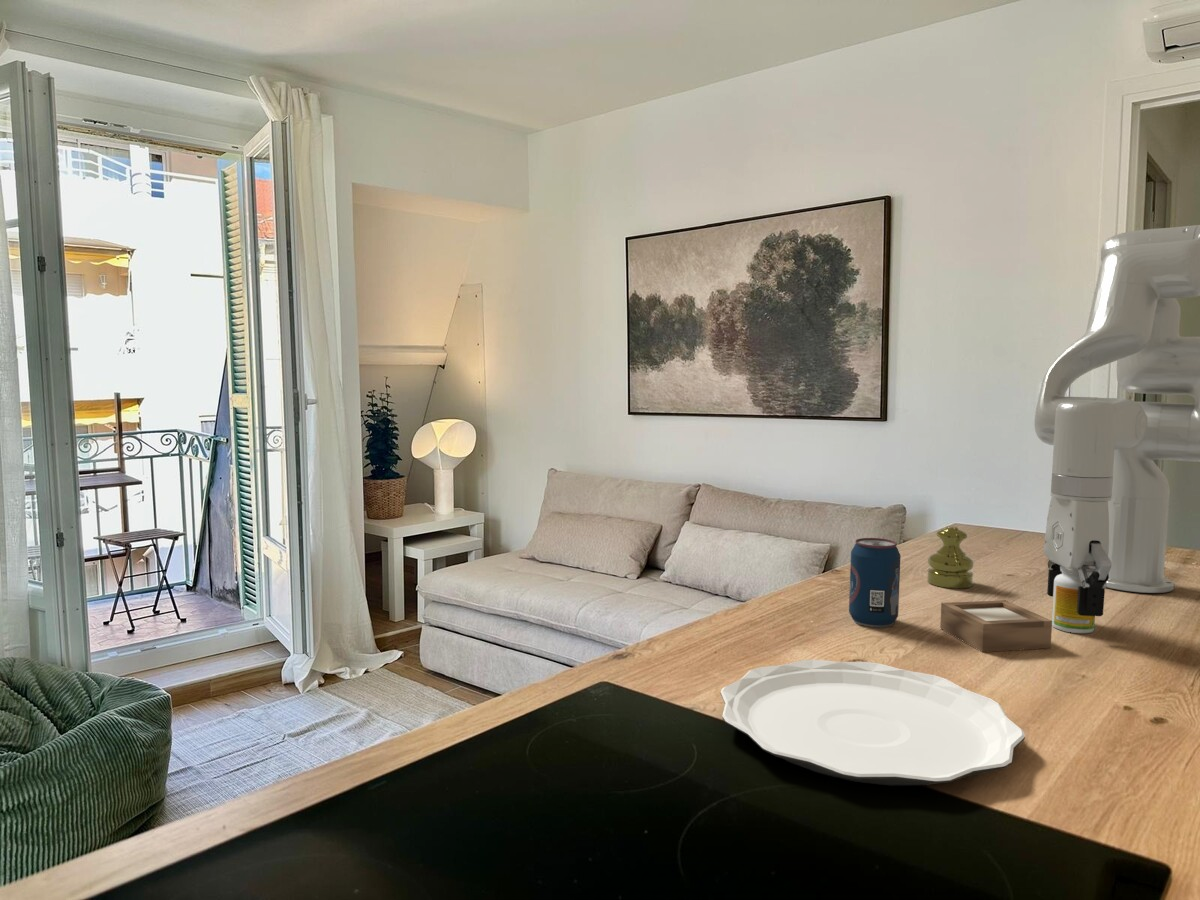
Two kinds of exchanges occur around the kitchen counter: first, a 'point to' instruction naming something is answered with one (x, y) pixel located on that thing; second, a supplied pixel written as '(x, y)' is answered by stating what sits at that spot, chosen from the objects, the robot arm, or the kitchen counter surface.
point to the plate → (871, 722)
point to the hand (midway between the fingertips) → (1073, 605)
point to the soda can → (874, 582)
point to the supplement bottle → (1069, 604)
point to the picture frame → (996, 625)
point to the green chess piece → (950, 561)
